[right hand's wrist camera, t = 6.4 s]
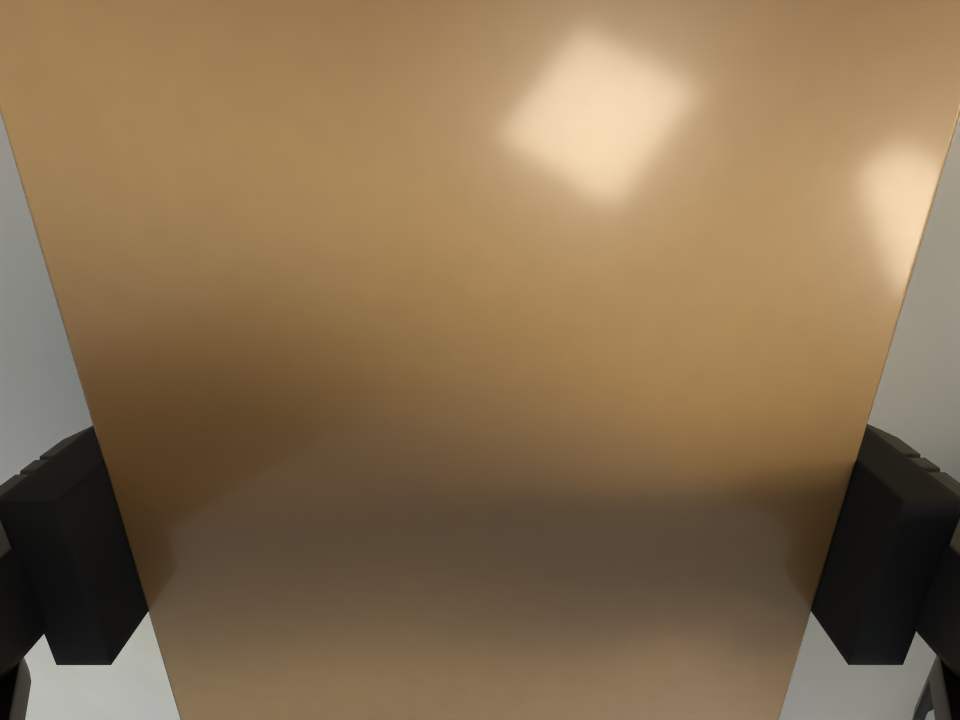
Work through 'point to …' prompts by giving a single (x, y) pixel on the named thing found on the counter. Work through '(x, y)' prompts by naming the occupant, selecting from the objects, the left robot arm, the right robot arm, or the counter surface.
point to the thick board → (479, 330)
